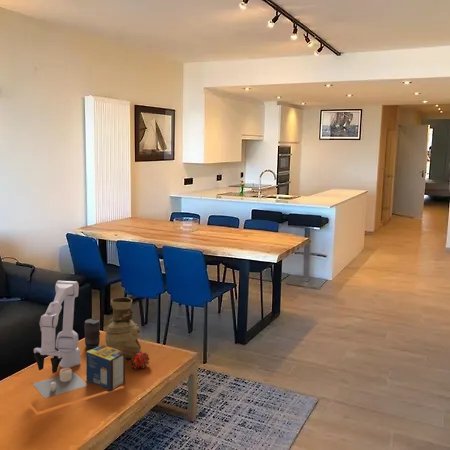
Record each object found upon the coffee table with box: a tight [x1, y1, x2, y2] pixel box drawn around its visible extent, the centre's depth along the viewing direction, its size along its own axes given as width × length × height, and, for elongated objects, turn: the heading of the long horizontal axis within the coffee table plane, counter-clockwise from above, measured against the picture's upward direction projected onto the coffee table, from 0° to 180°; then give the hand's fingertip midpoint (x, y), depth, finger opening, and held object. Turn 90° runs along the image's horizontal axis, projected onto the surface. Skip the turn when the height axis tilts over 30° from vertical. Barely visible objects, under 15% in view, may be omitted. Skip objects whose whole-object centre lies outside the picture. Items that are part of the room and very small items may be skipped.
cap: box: [59, 367, 73, 382], centre depth 231 cm, size 5×5×5 cm
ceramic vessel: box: [105, 296, 142, 360], centre depth 262 cm, size 19×21×30 cm
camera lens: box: [83, 318, 101, 350], centre depth 269 cm, size 8×8×15 cm
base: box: [31, 371, 89, 399], centre depth 226 cm, size 20×16×4 cm
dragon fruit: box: [130, 350, 150, 370], centre depth 248 cm, size 8×8×12 cm
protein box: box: [85, 344, 126, 392], centre depth 230 cm, size 10×15×16 cm
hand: (47, 371), depth 219 cm, fingers open, 7 cm apart
